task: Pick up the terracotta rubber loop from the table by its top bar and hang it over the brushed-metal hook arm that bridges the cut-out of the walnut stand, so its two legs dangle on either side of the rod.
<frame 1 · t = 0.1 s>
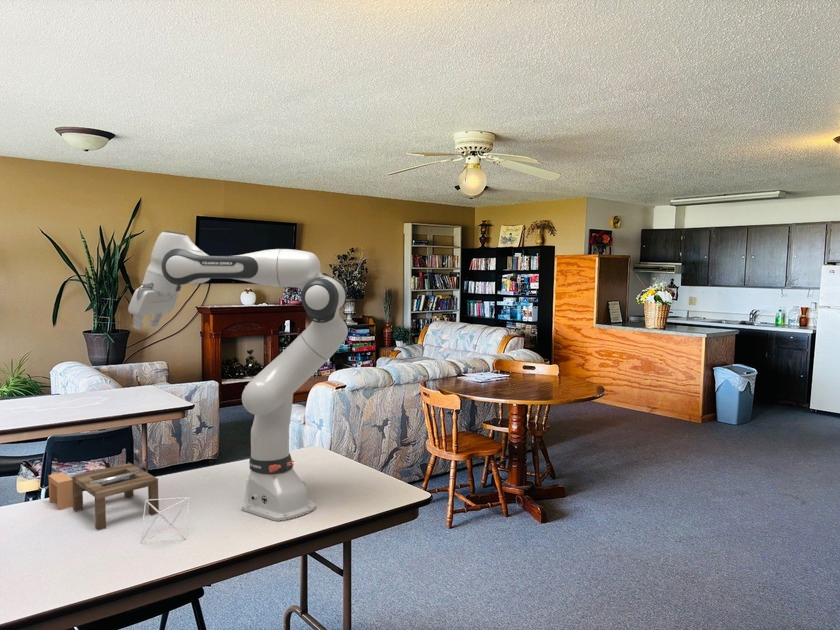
hand: (145, 327, 178), 52 cm above the table, tool tilted 20°, fingers open, 8 cm apart
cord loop: (61, 504, 176), on the table
geometric polyhedron: (165, 537, 155), on the table
hook shelf: (115, 511, 171), on the table
hook arm: (114, 478, 170), in the hook shelf, point 9 cm above the table
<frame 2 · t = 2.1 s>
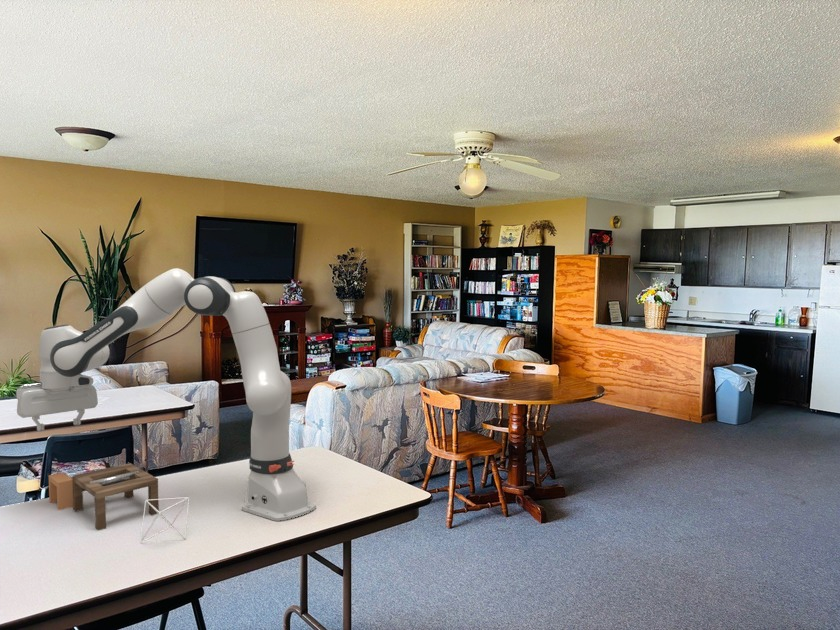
hand: (59, 427, 174), 23 cm above the table, tool pointing down, fingers open, 8 cm apart
nothing on the table moved.
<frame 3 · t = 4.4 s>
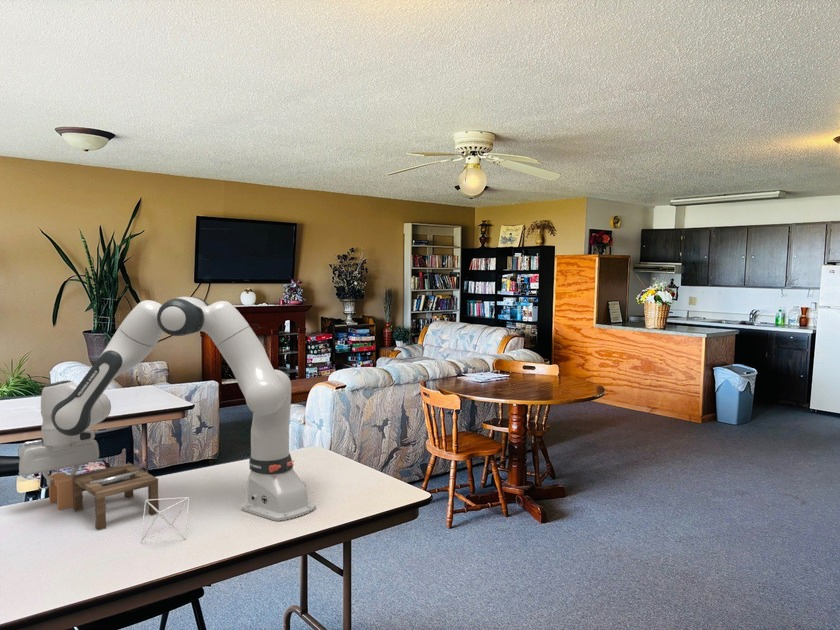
hand: (61, 482, 176), 6 cm above the table, tool pointing down, fingers closed on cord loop, 4 cm apart
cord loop: (61, 503, 176), on the table, touching gripper
everything else where it was.
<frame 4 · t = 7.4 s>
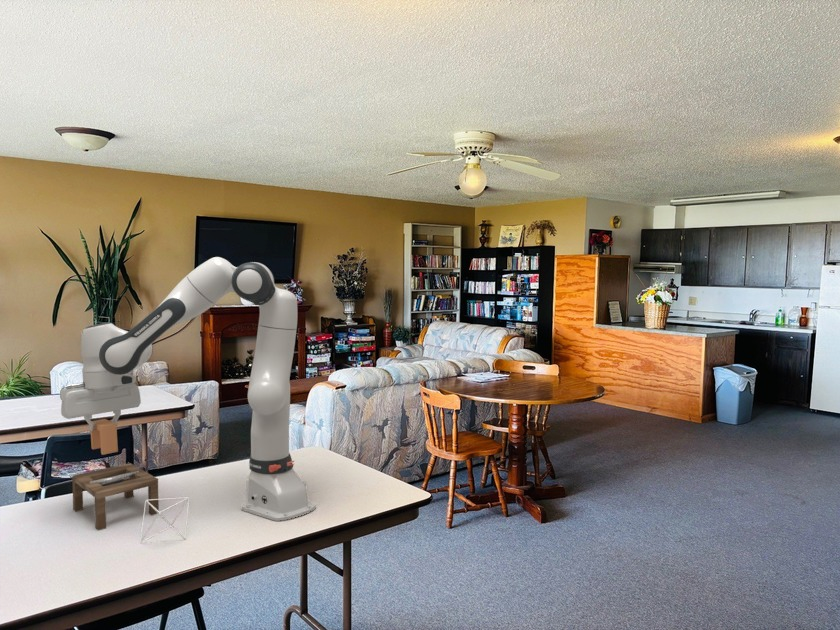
hand: (103, 428, 171), 24 cm above the table, tool pointing down, fingers closed on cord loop, 4 cm apart
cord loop: (104, 450, 171), point 17 cm above the table, touching gripper
everything else where it was.
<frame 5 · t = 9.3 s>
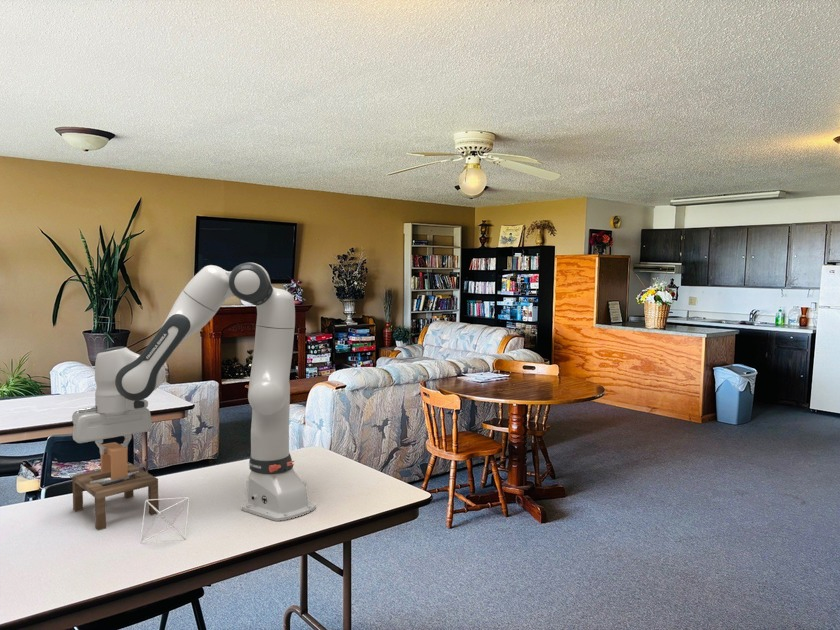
hand: (113, 452, 170), 17 cm above the table, tool pointing down, fingers closed on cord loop, 4 cm apart
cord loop: (114, 474, 170), point 11 cm above the table, touching gripper
everything else where it was.
when the fingers open (12 cm above the table, at t = 10.6 s): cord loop drops 2 cm, resting on hook arm.
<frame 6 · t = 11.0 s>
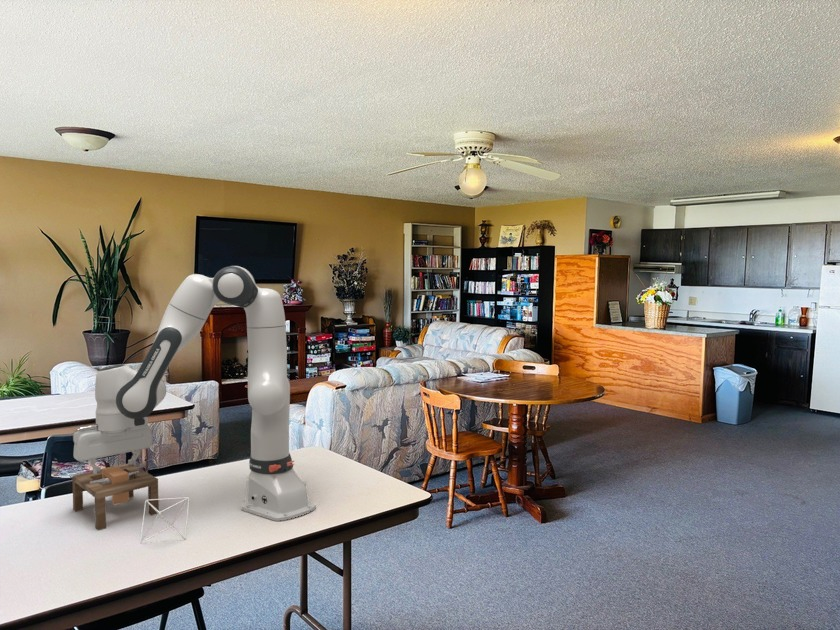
hand: (114, 469, 170), 12 cm above the table, tool pointing down, fingers open, 8 cm apart
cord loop: (115, 498, 171), point 4 cm above the table, touching hook arm
everything else where it was.
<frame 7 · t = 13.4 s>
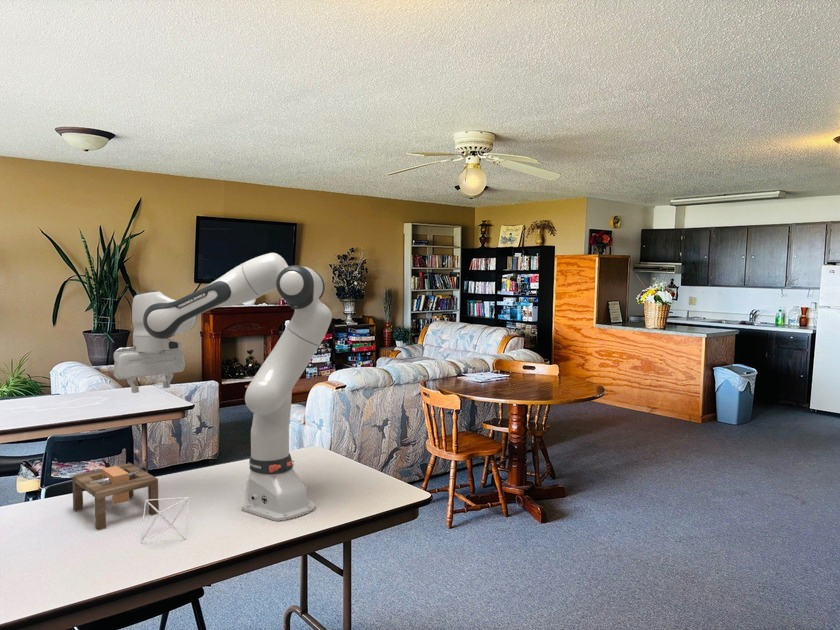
hand: (151, 390, 181), 33 cm above the table, tool pointing down, fingers open, 8 cm apart
nothing on the table moved.
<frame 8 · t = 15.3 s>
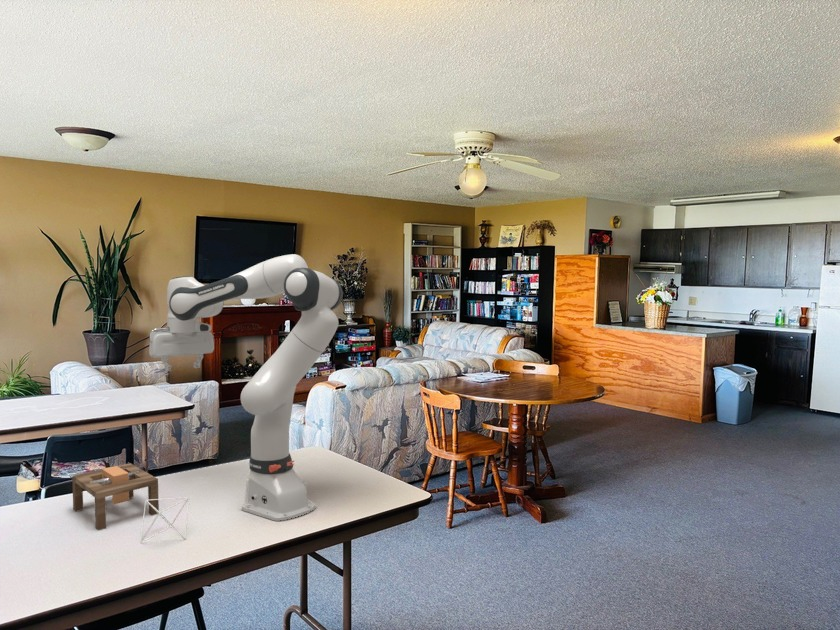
hand: (182, 369, 193), 37 cm above the table, tool pointing down, fingers open, 8 cm apart
nothing on the table moved.
at the end: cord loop 0.1 cm off-centre on the hook shelf, point 3.8 cm above the hook shelf's base; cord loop touching hook arm; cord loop tilted 0° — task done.
